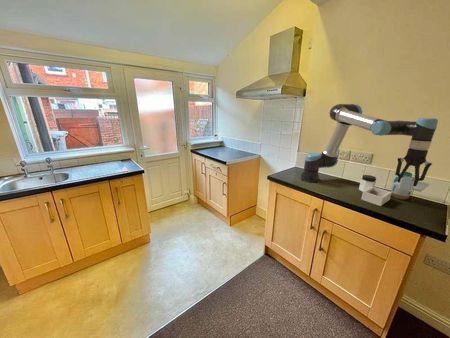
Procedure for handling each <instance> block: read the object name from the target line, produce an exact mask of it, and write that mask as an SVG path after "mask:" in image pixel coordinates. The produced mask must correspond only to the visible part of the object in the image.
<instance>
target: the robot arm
mask: <svg viewBox="0 0 450 338" xmlns="http://www.w3.org/2000/svg"><path fill="white" fill-rule="evenodd" d="M329 118H330V119H331V120H333V121H336V125H335V128H334V130H333V132H332V134H331V137H330V138H329V140H328V143H327V145H326V148H325V149H323V150H322V152H321V153H320V152H314V151H313V152H308V153H307V154H305V158H304V165H303V171H302V173H301V175H300V180H302V181H303V182H307V183H319V182H320V174H319V169H321V168H322V169H325V168H327V169H328V168H334V167H335V166H336V165H337V164H338V161H339V157H338V150H339V148H340V147H341V144H342V143H343V140H344V138H345V137H346V134H348V133H347V132H348V130H349V128H350V127H352V126H354V127H358V128H360V129H363V130H366V131H369V132H371V133H372V134H373V135H374V136H408V137H411V139H410V141H409V146H408V149H407V151H406V154H405V155H404V157H398V158H397V165H396V169H395V173H394V175H395V176H396V177H398V176H399V178H398V182H399V186H398V189H399V188H400V185H401V181H402V178H403V175H404V174H405V172H408V171H407V170H408V169H409V167H411V166H412V167H414V178H415V179H414V180H413V181H412V183H411V186H410V189H409V192H411V191H412V192H413V191H414V190H413V187H414V186H417V183H418V181H419V182H424V180H425V177H426V176H427V173H428V171H429V168H430V167H431V166H432V165H433V162H429V161H427V156H428V152H429V149H430V147H431V144H432V140H433V137H434V134H435V132H436V130H437V128H438V127H437V126H438V123H439V119H437V118H431V117H429V118H427V117H419V118H417V120H416V121H410V120H409V121H408V120H386V119H381V118H378V117H375V116H370V115H367V114H364V113H363V110H362V106H360V105H359V104H354V103H350V104H349V103H345V104H344V103H338V104H336V105H334V106H332V107H331V109H330V110H329ZM404 161H405V162H406V164H405V166H404V168H403V169H402V164H403V162H404ZM423 164H424V168H423V170H422V173H421V175H420V168H421V166H422V165H423ZM401 169H402V170H401Z"/></svg>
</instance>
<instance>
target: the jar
mask: <svg viewBox="0 0 450 338" xmlns="http://www.w3.org/2000/svg"><path fill="white" fill-rule="evenodd" d="M376 181H377V177H376V176H373V175H371V174H363V175H362V177H361V180H360V183H359V186H358V187H359V188H358V190H359V191H361V192H362V193H363V191H365V190H367V189H369V188H371V187H376Z"/></svg>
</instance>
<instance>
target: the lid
mask: <svg viewBox="0 0 450 338" xmlns="http://www.w3.org/2000/svg"><path fill="white" fill-rule="evenodd" d="M413 180H415V176H412V177H410V176H404V177H403V178H402V181H401V185H400V188H399V189H403V190H407V191H409V189H410V186H411V183H412V181H413ZM392 184H393V185H396V186H399V182H398V181H397V182H395V183H393V182H392ZM429 186H430V183H427V182H424V181H418V183H417V186H414V187H413V190H412V191H415V192H418V193H419V192H420V193H422V191H424V190H425V189H426V188H428V187H429Z"/></svg>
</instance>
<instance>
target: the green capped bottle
mask: <svg viewBox="0 0 450 338" xmlns="http://www.w3.org/2000/svg"><path fill="white" fill-rule="evenodd" d="M404 176H410V177H413V173H412V172H410V171H406V172H405V174H404V175H403V177H404ZM398 178H399V176H395V178H394V179H393V182H392V184H391V188H390V192H392V194H391V197H393V198H394V199H397V200H403V201H405V200H408V199H409V198H410V197H411V195H412V193H413V190H412V191H411V192H409V191H407V190H403V189H398V186H396V185H393V183H395V182H397V181H398Z"/></svg>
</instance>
